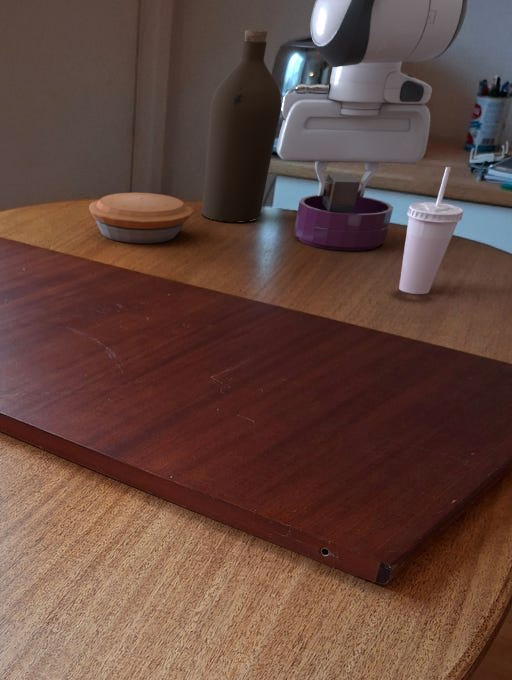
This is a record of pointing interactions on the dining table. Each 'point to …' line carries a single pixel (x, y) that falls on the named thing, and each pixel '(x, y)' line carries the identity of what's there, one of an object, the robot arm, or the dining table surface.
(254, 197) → the olive oil
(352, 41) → the robot arm
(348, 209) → the eraser
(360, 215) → the bowl
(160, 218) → the pie
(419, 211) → the smoothie
